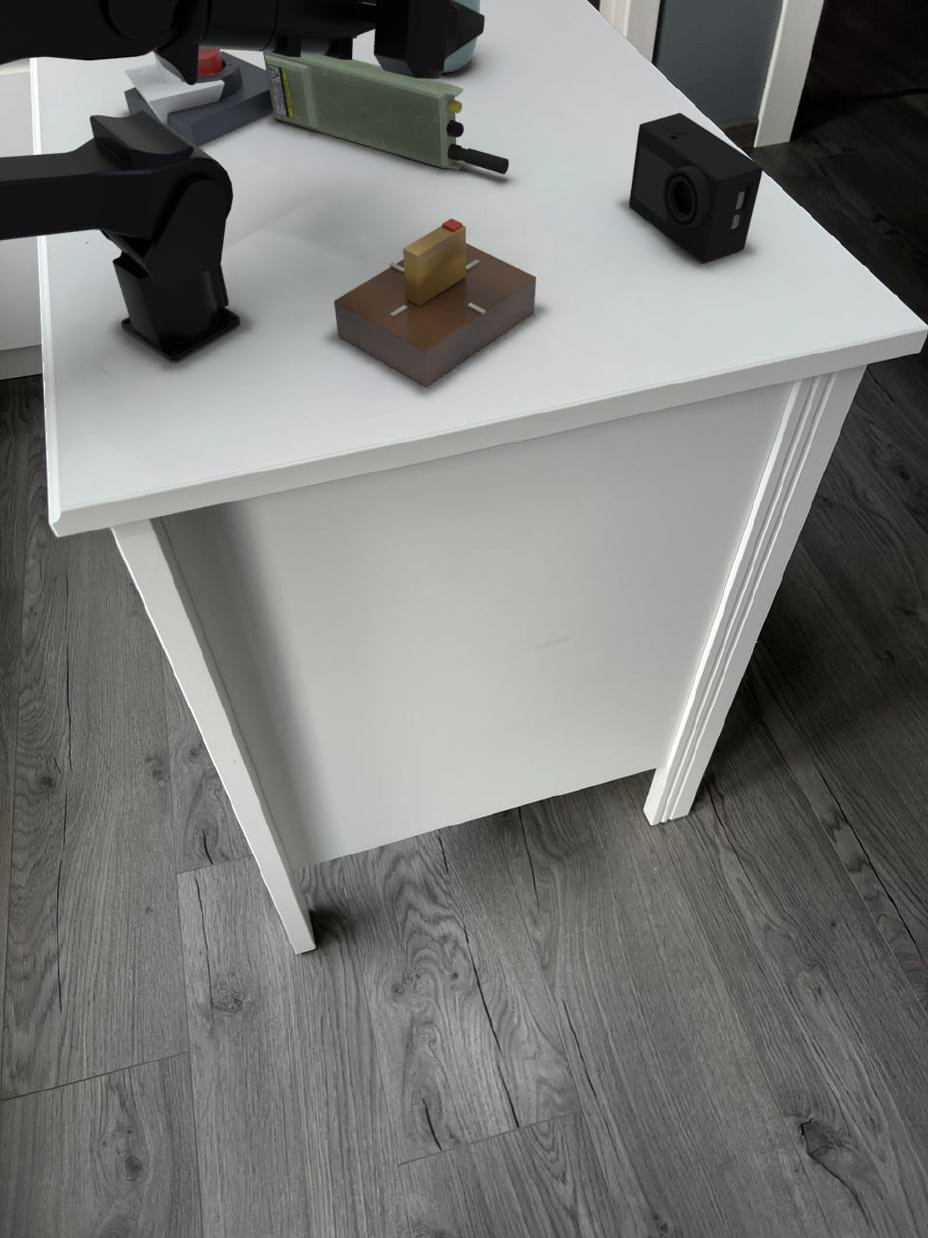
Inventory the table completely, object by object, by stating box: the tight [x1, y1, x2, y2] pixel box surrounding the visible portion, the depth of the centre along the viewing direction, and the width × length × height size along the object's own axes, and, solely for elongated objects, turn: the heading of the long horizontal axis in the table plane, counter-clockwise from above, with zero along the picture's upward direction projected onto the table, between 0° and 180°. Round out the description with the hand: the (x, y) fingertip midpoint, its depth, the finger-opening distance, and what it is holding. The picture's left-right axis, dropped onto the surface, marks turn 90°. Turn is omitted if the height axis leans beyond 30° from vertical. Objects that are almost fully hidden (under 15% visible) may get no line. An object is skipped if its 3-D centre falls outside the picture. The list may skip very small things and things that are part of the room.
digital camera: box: [628, 112, 764, 264], centre depth 80 cm, size 10×5×7 cm, turn 29°
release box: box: [123, 50, 274, 148], centre depth 95 cm, size 12×10×4 cm
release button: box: [198, 48, 223, 76], centre depth 93 cm, size 4×4×2 cm
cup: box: [442, 0, 481, 74], centre depth 99 cm, size 8×8×10 cm
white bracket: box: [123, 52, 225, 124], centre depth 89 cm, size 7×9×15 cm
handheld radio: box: [262, 52, 510, 175], centre depth 89 cm, size 7×3×25 cm
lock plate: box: [333, 242, 537, 387], centre depth 74 cm, size 12×9×3 cm
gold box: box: [402, 217, 467, 306], centre depth 71 cm, size 5×1×4 cm, turn 138°
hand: (440, 16), depth 73 cm, fingers open, 9 cm apart
